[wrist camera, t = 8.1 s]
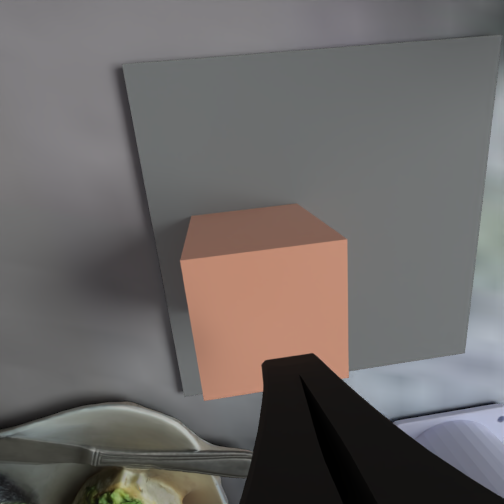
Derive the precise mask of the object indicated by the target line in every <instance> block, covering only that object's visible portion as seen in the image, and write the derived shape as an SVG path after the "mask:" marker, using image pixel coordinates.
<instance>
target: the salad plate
mask: <svg viewBox="0 0 504 504" xmlns="http://www.w3.org/2000/svg"><path fill="white" fill-rule="evenodd" d="M252 455H253V452H251V451H249V450H245V449H239V448H228V447H223V446H222V447H220V446H216V445H213V444H211V443H208V442H207V441H205V440H203V439H201V438H199V437H198V436H197V435H196V434H195V433H193V432H192V431H191V430H190V429H188V428H187V427H186V426H185V425H184V424H183V423H182V422H181V421H179V420H177V419H175V418H173V417H171V416H168V415H165V414H163V413H161V412H158V411H155V410H152V409H149V408H146V407H143V406H141V405H139V404H136V403H133V402H127V401H124V402H106V403H99V404H92V405H85V406H80V407H76V408H73V409H69V410H65V411H61V412H59V413H56V414H53V415H50V416H47V417H44V418H40V419H37V420H34V421H31V422H27V423H24V424H22V425H18V426H14V427H10V428H5V429H1V430H0V504H229V503H228V499H227V497H226V494H225V492H224V490H223V488H222V485H221V478H220V476H222V477H231V478H247V475H248V472H249V468H250V464H251V459H252Z"/></svg>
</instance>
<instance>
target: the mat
mask: <svg viewBox="0 0 504 504" xmlns="http://www.w3.org/2000/svg"><path fill="white" fill-rule="evenodd" d="M501 41H502V35H490V36H478V37H465V38H452V39H439V40H426V41H413V42H400V43H388V44H375V45H362V46H349V47H336V48H323V49H310V50H298V51H285V52H272V53H259V54H246V55H233V56H220V57H208V58H195V59H182V60H169V61H156V62H143V63H130V64H122V68H123V73H124V78H125V83H126V89H127V94H128V99H129V105H130V110H131V115H132V121H133V126H134V131H135V137H136V142H137V147H138V153H139V158H140V163H141V169H142V174H143V179H144V185H145V190H146V195H147V200H148V206H149V211H150V216H151V222H152V227H153V232H154V238H155V243H156V248H157V254H158V259H159V264H160V270H161V275H162V280H163V286H164V291H165V296H166V301H167V307H168V312H169V317H170V323H171V328H172V333H173V339H174V344H175V349H176V355H177V360H178V365H179V371H180V376H181V381H182V387H183V392H184V397H186V396H193V395H199V394H203V392H202V386H201V380H200V374H199V368H198V362H197V357H196V351H195V345H194V339H193V333H192V328H191V322H190V316H189V310H188V304H187V298H186V293H185V287H184V281H183V275H182V269H181V263H180V259H181V255H182V251H183V247H184V243H185V239H186V235H187V231H188V227H189V223H190V219H191V216H195V215H204V214H212V213H221V212H229V211H238V210H246V209H255V208H263V207H271V206H280V205H288V204H299V205H300V206H301V207H303V208H304V209H306V210H307V211H308V212H310V213H311V214H313V215H314V216H315V217H317V218H318V219H320V220H321V221H322V222H324V223H325V224H327V225H328V226H329V227H331V228H332V229H334V230H335V231H336V232H338V233H339V234H341V235H342V236H343V237H345V238H346V239H347V254H348V357H349V371H353V370H360V369H366V368H373V367H379V366H385V365H392V364H398V363H405V362H411V361H417V360H424V359H430V358H437V357H443V356H450V355H456V354H462V353H465V347H466V338H467V330H468V321H469V313H470V304H471V296H472V287H473V279H474V270H475V262H476V253H477V245H478V236H479V228H480V219H481V211H482V202H483V194H484V185H485V177H486V168H487V160H488V151H489V143H490V134H491V126H492V117H493V109H494V100H495V92H496V83H497V75H498V66H499V58H500V49H501Z"/></svg>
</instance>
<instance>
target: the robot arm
mask: <svg viewBox="0 0 504 504" xmlns="http://www.w3.org/2000/svg"><path fill="white" fill-rule="evenodd" d="M261 367H262V377H263V398H262V406H261V413H260V420H259V427H258V432H257V437H256V441H255V446H254V450H253V455H252V459H251V464H250V468H249V472H248V475H247V479H246V483H245V486H244V490H243V493H242V497H241V500H240V503H239V504H504V444H503V441H504V404H502V403H497V404H492V405H486V406H480V407H474V408H468V409H462V410H456V411H450V412H444V413H438V414H433V415H427V416H421V417H415V418H409V419H403V420H397V421H395V422H393V423H392V422H391V421H390V420H388V419H387V418H386V417H385V416H383V415H382V414H381V413H380V412H379V411H377V410H376V409H375V408H374V407H373V406H371V405H370V404H369V403H368V402H367V401H366V400H364V399H363V398H362V397H361V396H360V395H358V394H357V393H356V392H355V391H354V390H353V389H352V388H351V387H349V386H348V385H347V384H346V383H345V382H344V381H343V380H342V379H341V378H340V377H339V376H337V375H336V374H335V373H334V372H333V371H332V370H331V369H330V368H329V367H328V366H327V365H326V364H325V363H324V362H323V361H322V360H321V359H320V358H319V357H318V356H316V355H315V354H314V353H309V354H303V355H296V356H289V357H283V358H276V359H269V360H265V361H264V362H263V363H262V364H261Z"/></svg>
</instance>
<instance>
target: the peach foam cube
mask: <svg viewBox="0 0 504 504" xmlns="http://www.w3.org/2000/svg"><path fill="white" fill-rule="evenodd" d="M180 263H181V269H182V275H183V281H184V287H185V293H186V298H187V304H188V310H189V316H190V322H191V328H192V333H193V339H194V345H195V351H196V357H197V362H198V368H199V374H200V380H201V386H202V392H203V397H204V401H206V400H212V399H219V398H225V397H231V396H237V395H244V394H250V393H256V392H262V391H263V377H262V367H261V364H262V363H263V362H264V361H265V360H269V359H276V358H283V357H289V356H296V355H303V354H309V353H314V354H315V355H316V356H318V357H319V358H320V359H321V360H322V361H323V362H324V363H325V364H326V365H327V366H328V367H329V368H330V369H331V370H332V371H333V372H334V373H335V374H336V375H337V376H339V377H340V378H341V379H343V378H349V357H348V254H347V239H346V238H345V237H343V236H342V235H341V234H339V233H338V232H336V231H335V230H334V229H332V228H331V227H329V226H328V225H327V224H325V223H324V222H322V221H321V220H320V219H318V218H317V217H315V216H314V215H313V214H311V213H310V212H308V211H307V210H306V209H304V208H303V207H301V206H300V205H299V204H288V205H280V206H271V207H263V208H255V209H246V210H238V211H229V212H221V213H212V214H204V215H195V216H191V219H190V223H189V227H188V231H187V235H186V239H185V243H184V247H183V251H182V255H181V259H180Z"/></svg>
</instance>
